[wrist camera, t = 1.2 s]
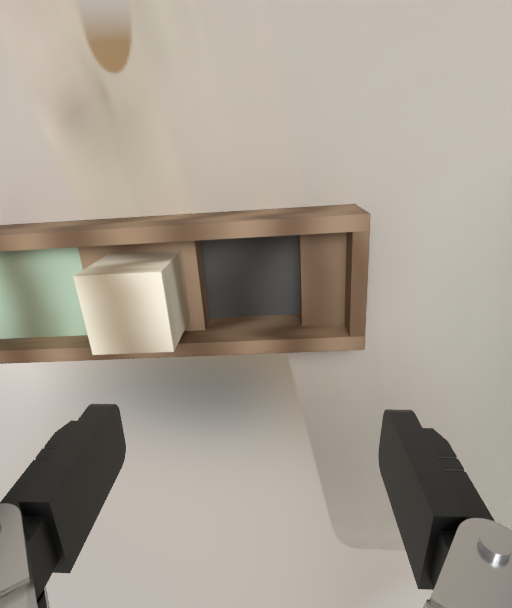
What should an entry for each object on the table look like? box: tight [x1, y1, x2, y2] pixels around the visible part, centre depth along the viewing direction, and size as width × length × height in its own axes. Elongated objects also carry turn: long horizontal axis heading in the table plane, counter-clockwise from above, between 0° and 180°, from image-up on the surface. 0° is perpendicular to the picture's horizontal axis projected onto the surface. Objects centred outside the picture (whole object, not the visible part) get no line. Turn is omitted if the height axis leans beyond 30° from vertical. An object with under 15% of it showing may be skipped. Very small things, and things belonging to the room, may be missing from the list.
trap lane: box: [0, 204, 370, 364], centre depth 27 cm, size 36×9×4 cm, turn 94°
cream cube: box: [73, 250, 190, 355], centre depth 25 cm, size 5×5×5 cm
